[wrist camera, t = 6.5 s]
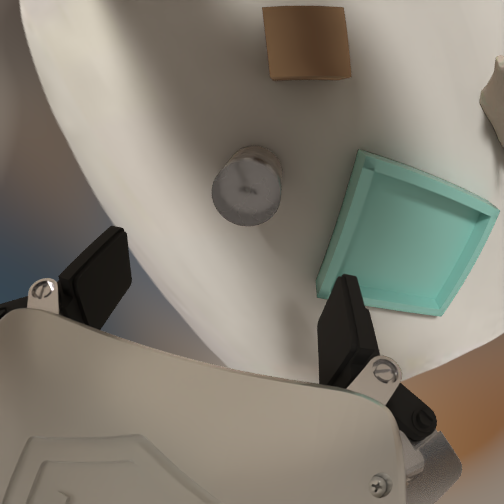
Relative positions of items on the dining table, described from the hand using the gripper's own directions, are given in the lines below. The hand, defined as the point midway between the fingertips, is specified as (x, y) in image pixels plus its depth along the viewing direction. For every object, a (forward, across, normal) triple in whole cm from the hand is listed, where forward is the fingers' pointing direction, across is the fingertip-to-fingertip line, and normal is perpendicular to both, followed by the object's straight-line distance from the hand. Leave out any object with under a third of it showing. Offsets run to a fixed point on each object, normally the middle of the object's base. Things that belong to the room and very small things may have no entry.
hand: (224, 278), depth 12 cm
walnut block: (+14, -2, -12) cm, 18 cm away
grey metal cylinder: (+14, 0, -1) cm, 14 cm away
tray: (+14, -16, +2) cm, 21 cm away
